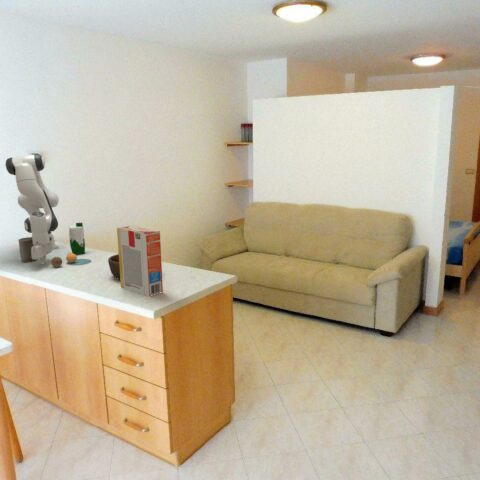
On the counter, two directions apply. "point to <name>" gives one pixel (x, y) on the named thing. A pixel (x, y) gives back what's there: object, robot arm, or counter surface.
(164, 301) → the counter surface
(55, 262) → the walnut ball
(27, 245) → the pillar candle
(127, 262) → the cereal box
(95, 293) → the counter surface
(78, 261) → the teal mark
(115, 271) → the wooden bowl
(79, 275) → the counter surface
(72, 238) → the milk carton
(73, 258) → the orange ball
